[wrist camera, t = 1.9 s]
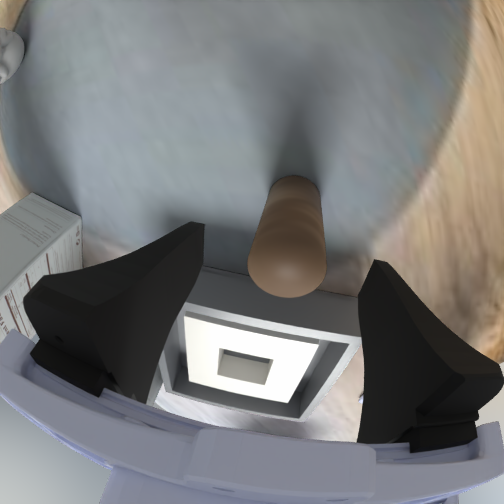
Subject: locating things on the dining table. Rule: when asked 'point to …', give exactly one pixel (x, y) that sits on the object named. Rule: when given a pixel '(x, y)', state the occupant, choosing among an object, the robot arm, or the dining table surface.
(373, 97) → the dining table surface
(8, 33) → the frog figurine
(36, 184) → the dining table surface
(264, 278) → the peg
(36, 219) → the supplement box
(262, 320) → the square hole block
